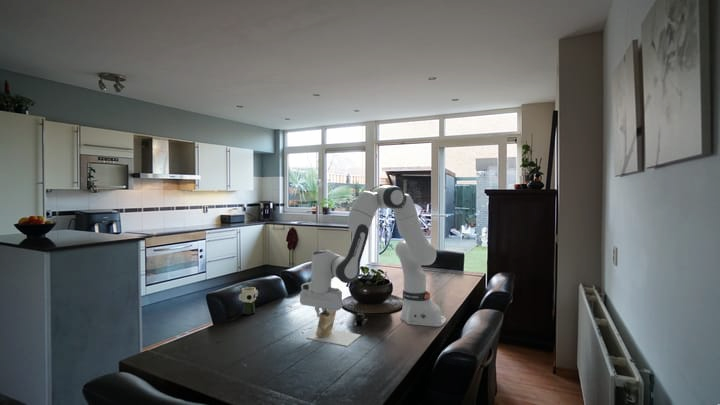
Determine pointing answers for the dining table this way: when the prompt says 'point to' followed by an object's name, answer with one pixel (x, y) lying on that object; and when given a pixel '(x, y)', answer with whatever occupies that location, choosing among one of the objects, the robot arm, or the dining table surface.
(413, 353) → the dining table surface
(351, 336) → the felt mat
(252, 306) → the character mug
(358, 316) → the black box
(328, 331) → the oak slab
